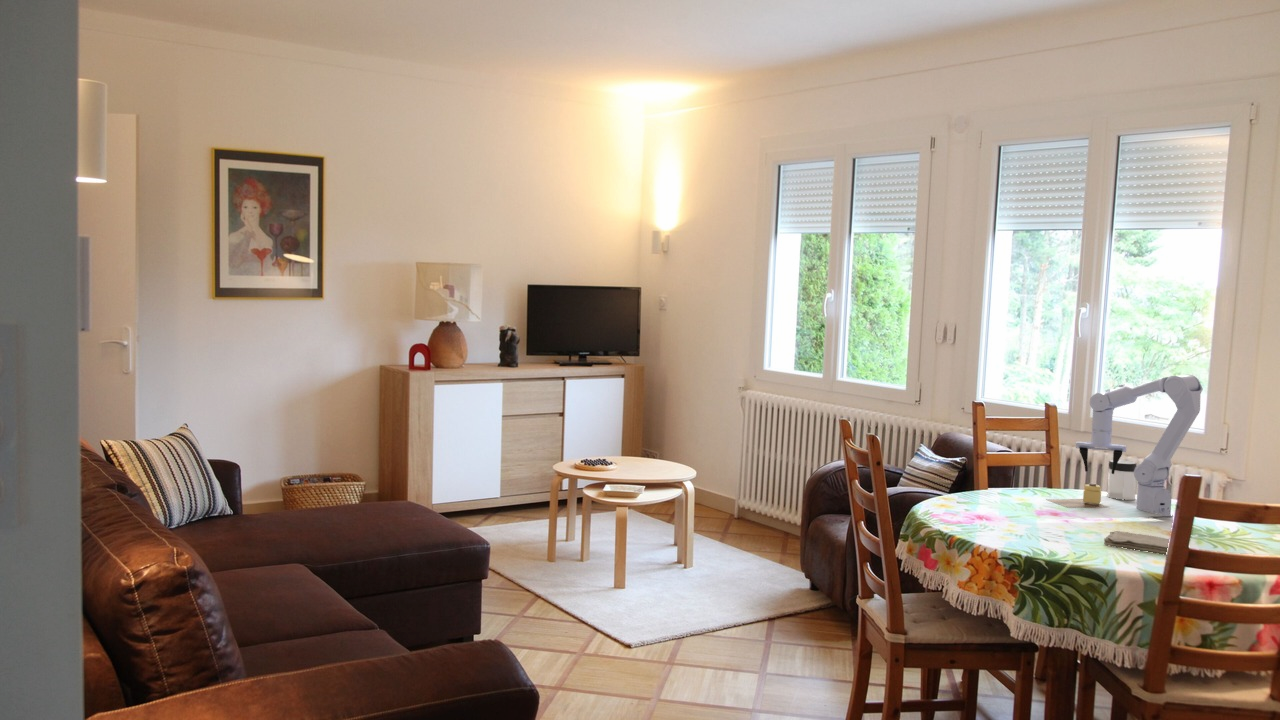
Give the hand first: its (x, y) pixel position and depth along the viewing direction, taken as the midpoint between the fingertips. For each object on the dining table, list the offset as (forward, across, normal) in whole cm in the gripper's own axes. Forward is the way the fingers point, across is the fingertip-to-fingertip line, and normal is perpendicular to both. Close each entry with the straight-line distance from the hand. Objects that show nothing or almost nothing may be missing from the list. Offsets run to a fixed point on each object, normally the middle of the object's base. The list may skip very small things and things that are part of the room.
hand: (1099, 472), depth 306 cm
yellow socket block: (+8, -2, -10) cm, 13 cm away
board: (+10, -6, -11) cm, 16 cm away
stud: (+9, -2, -10) cm, 13 cm away
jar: (+10, +7, +13) cm, 18 cm away
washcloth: (+11, +11, -55) cm, 57 cm away
